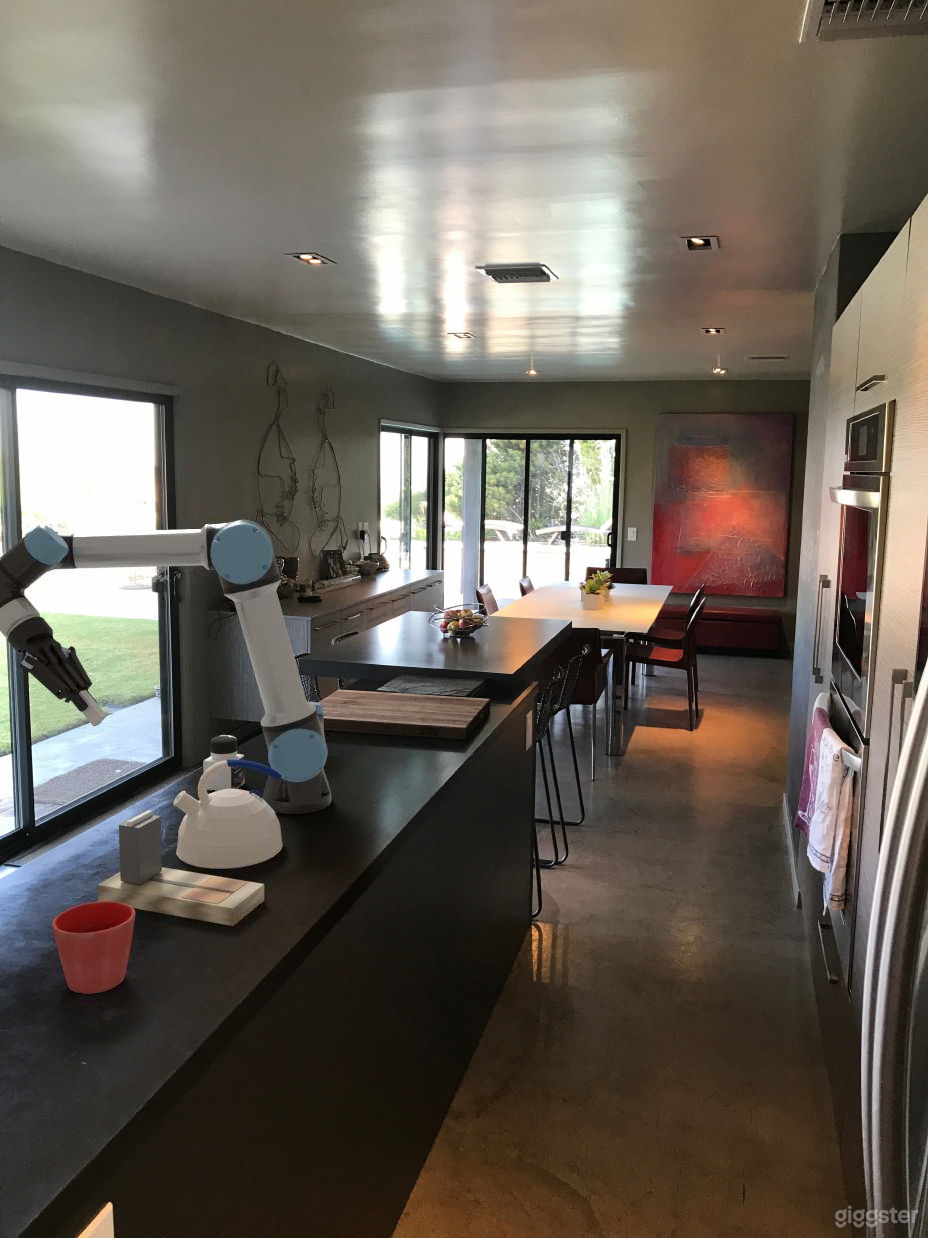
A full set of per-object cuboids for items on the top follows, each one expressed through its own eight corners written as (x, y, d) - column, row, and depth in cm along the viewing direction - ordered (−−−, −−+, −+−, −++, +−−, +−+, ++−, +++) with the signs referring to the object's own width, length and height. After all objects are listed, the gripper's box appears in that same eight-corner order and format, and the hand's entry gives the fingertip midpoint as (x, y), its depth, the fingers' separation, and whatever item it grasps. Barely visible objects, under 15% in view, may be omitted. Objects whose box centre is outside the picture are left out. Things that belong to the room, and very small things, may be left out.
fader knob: (120, 881, 160) (118, 820, 159) (142, 867, 166) (140, 809, 164) (140, 884, 159) (138, 823, 157) (161, 871, 165) (160, 811, 163)
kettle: (168, 837, 189) (166, 750, 187) (271, 825, 197) (271, 741, 195) (181, 876, 171) (179, 780, 168) (293, 861, 179) (293, 769, 176)
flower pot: (69, 962, 139) (66, 900, 138) (144, 961, 140) (143, 899, 139) (43, 1001, 129) (40, 934, 128) (125, 999, 130) (123, 933, 129)
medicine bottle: (231, 792, 217) (231, 742, 215) (203, 790, 218) (202, 740, 217) (245, 783, 224) (244, 734, 222) (217, 781, 225) (216, 732, 223)
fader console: (98, 901, 160) (97, 884, 159) (135, 878, 169) (135, 862, 169) (233, 926, 152) (233, 908, 151) (264, 900, 161) (264, 883, 161)
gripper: (38, 635, 186) (111, 725, 184) (-14, 645, 174) (64, 742, 171) (59, 610, 184) (133, 701, 181) (8, 619, 172) (88, 716, 169)
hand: (100, 721), depth 176 cm, fingers closed
